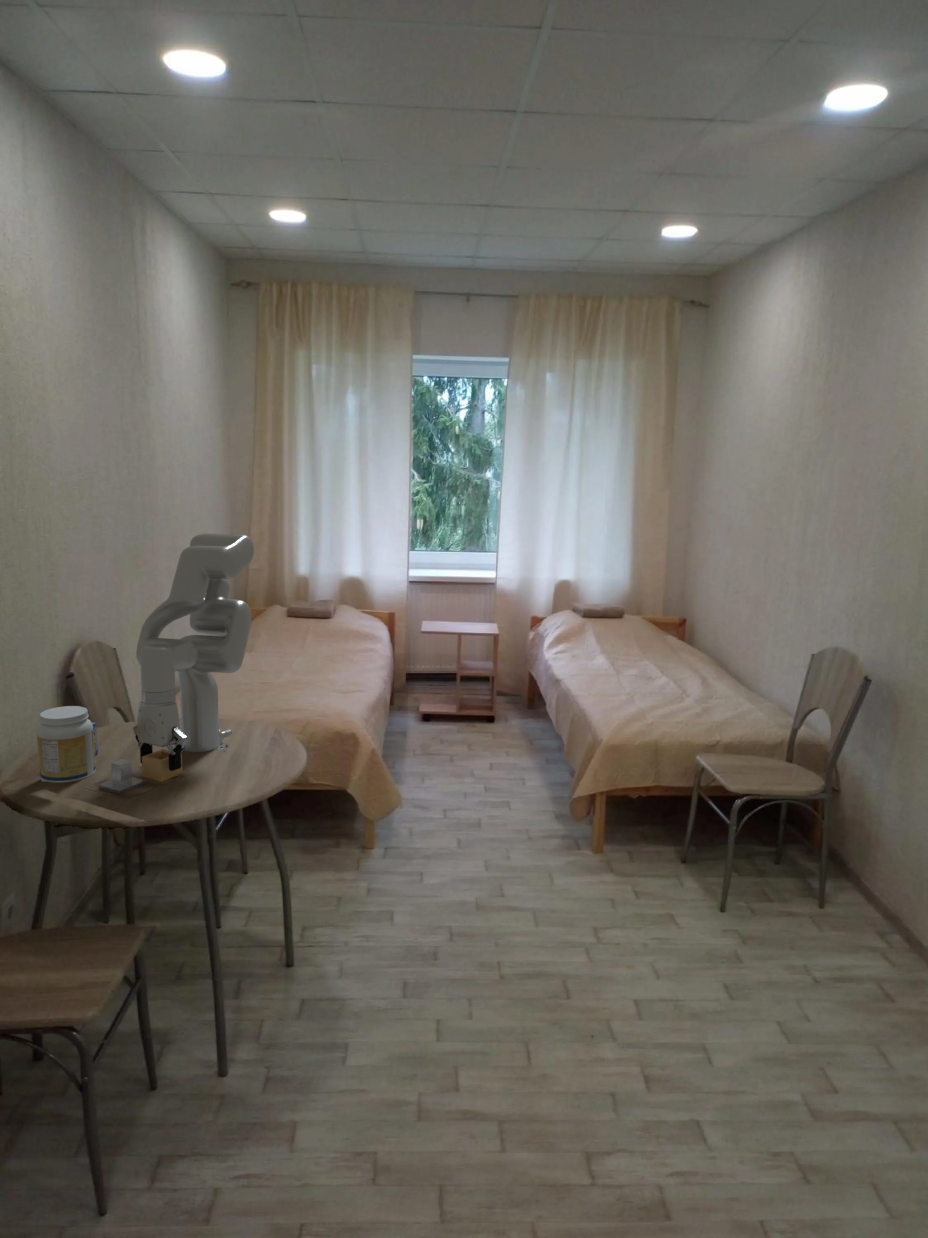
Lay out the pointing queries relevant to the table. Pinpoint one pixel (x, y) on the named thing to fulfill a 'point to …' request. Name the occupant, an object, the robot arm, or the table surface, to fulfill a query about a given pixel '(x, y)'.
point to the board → (149, 786)
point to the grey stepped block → (121, 778)
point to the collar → (158, 766)
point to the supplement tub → (65, 744)
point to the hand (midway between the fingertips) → (160, 765)
